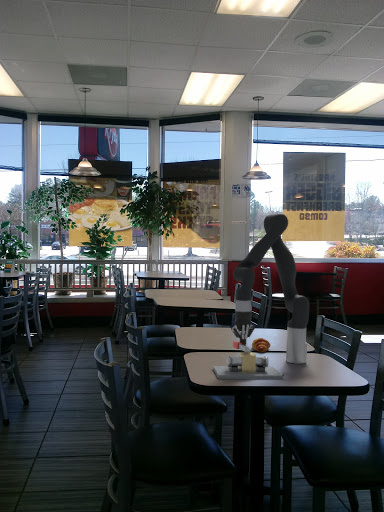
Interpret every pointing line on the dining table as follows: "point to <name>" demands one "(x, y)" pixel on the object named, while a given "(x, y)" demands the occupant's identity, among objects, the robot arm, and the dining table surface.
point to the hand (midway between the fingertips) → (242, 346)
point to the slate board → (225, 373)
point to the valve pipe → (247, 363)
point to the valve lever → (241, 347)
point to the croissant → (260, 345)
